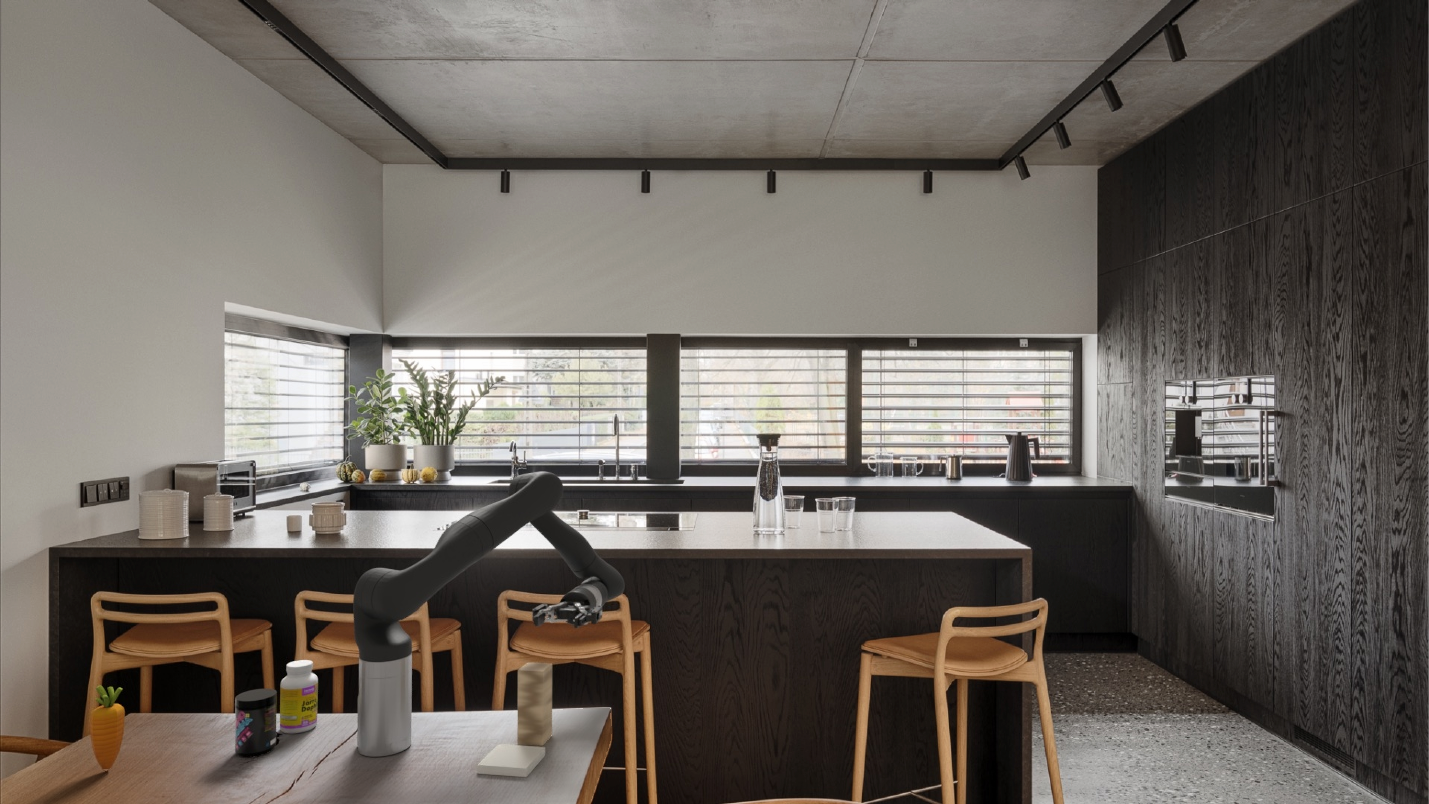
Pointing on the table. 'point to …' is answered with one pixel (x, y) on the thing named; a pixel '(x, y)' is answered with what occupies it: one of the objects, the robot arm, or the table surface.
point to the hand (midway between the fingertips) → (556, 622)
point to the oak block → (534, 704)
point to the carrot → (107, 727)
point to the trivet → (511, 760)
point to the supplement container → (255, 722)
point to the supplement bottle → (298, 698)
